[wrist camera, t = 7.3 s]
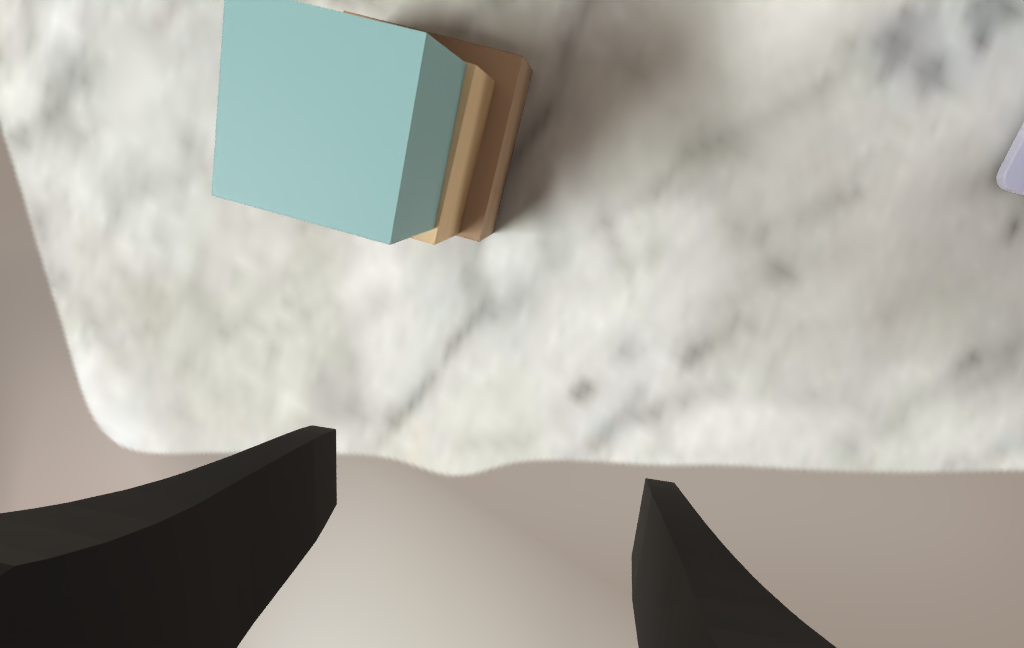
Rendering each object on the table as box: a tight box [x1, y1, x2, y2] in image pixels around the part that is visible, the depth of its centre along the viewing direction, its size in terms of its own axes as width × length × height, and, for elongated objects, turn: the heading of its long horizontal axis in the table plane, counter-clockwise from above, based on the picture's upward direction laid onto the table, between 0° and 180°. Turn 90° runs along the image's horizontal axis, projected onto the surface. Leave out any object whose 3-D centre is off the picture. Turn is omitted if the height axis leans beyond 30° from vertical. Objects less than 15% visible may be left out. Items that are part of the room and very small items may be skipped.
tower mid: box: [410, 62, 496, 245], centre depth 17 cm, size 5×5×3 cm
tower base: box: [343, 11, 533, 242], centre depth 20 cm, size 6×6×3 cm
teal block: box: [211, 0, 467, 245], centre depth 14 cm, size 4×4×4 cm
